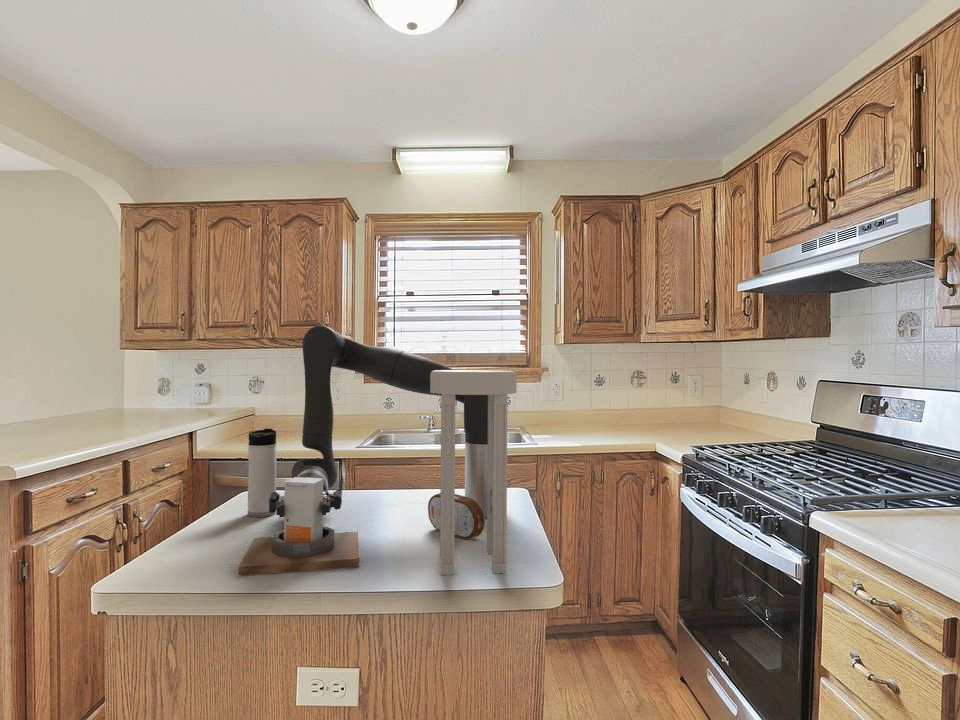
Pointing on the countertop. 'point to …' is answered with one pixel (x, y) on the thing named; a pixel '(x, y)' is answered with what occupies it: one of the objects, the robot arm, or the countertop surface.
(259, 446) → the travel mug
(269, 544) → the walnut base
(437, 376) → the stool
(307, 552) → the ring collar
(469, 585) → the countertop surface
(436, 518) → the tin
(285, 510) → the skincare box
